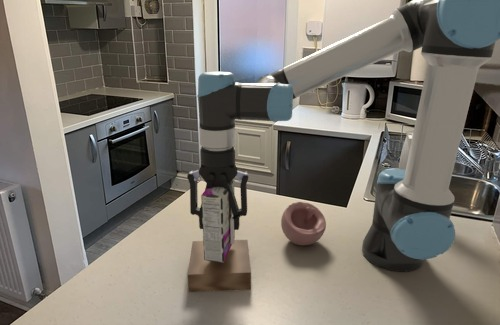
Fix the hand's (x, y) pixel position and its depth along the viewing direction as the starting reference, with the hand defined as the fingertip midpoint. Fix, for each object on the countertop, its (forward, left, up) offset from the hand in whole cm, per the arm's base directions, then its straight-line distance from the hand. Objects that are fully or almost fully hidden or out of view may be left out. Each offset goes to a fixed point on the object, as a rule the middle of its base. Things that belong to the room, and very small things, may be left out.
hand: (219, 240), depth 89 cm
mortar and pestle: (-21, -15, -9) cm, 27 cm away
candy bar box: (0, 0, -2) cm, 3 cm away
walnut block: (0, 0, -9) cm, 9 cm away
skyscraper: (-56, -35, -9) cm, 67 cm away
